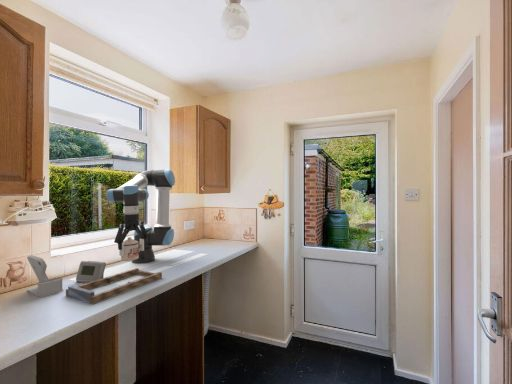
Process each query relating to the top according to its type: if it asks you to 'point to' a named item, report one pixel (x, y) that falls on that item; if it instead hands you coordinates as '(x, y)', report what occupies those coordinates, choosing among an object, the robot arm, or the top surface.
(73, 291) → the open rectangular wooden frame
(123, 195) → the robot arm
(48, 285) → the phone holder
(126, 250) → the teacup with lid
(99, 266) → the digital clock
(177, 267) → the top surface
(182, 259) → the top surface
